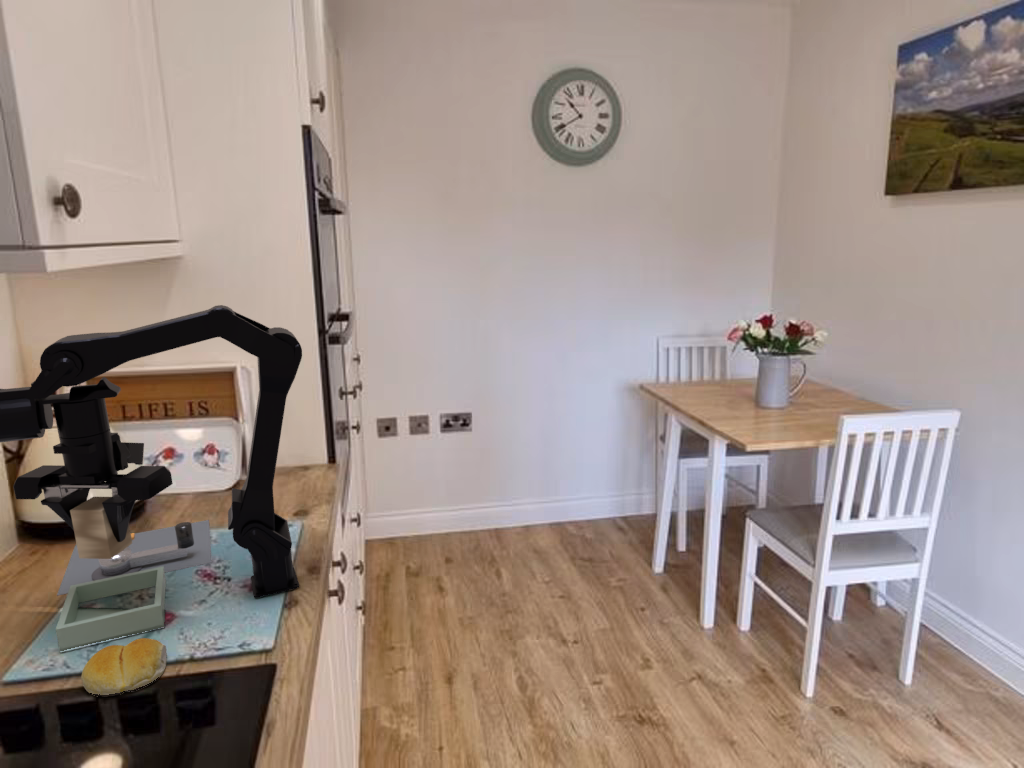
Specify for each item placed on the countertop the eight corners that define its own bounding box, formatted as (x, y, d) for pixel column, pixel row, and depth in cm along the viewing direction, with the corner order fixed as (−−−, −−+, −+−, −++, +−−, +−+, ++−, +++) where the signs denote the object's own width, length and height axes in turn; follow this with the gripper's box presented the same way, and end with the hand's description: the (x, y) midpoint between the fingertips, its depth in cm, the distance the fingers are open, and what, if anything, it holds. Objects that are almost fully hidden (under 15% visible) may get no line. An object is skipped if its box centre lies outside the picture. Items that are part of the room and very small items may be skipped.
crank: (99, 577, 100) (93, 547, 99) (102, 564, 104) (97, 536, 103) (195, 557, 106) (191, 529, 105) (195, 546, 110) (191, 518, 109)
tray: (164, 628, 90) (160, 605, 89) (60, 653, 85) (55, 629, 84) (166, 586, 100) (163, 566, 100) (74, 607, 95) (70, 585, 95)
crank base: (212, 568, 106) (211, 560, 105) (57, 601, 97) (56, 593, 97) (209, 524, 122) (208, 517, 121) (76, 550, 113) (74, 542, 113)
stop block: (132, 543, 92) (124, 496, 91) (111, 558, 88) (102, 510, 86) (102, 542, 93) (93, 496, 91) (79, 558, 88) (69, 510, 87)
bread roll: (91, 666, 83) (86, 638, 82) (170, 649, 86) (166, 622, 85) (75, 709, 75) (69, 679, 74) (162, 689, 78) (157, 659, 77)
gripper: (186, 414, 93) (201, 516, 97) (63, 415, 95) (82, 514, 99) (137, 439, 83) (156, 552, 86) (-1, 439, 84) (23, 550, 88)
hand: (104, 540), depth 90 cm, fingers closed on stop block, 4 cm apart
